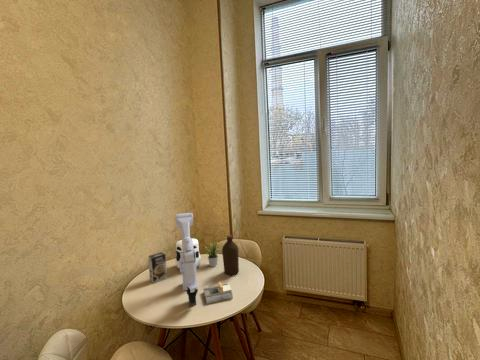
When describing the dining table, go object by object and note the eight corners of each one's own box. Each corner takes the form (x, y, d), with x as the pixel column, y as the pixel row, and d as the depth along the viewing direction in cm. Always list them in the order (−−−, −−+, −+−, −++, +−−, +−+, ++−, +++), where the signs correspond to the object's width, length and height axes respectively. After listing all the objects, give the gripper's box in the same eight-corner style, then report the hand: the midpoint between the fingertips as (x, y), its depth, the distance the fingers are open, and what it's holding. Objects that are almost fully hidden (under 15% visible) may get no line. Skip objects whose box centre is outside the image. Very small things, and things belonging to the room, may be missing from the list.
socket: (203, 292, 143) (203, 287, 143) (227, 287, 147) (227, 282, 147) (206, 303, 132) (206, 298, 132) (232, 298, 136) (232, 293, 135)
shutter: (218, 287, 142) (218, 282, 142) (229, 285, 144) (228, 280, 144) (221, 292, 137) (220, 287, 136) (231, 290, 138) (231, 285, 138)
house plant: (229, 264, 179) (227, 241, 178) (214, 271, 169) (212, 247, 168) (216, 259, 189) (214, 238, 188) (201, 265, 180) (199, 243, 178)
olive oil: (236, 277, 159) (233, 238, 157) (220, 275, 163) (218, 237, 161) (242, 270, 169) (239, 233, 167) (227, 268, 173) (225, 232, 171)
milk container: (196, 259, 191) (194, 236, 190) (205, 267, 176) (203, 242, 175) (173, 265, 182) (171, 241, 181) (180, 274, 168) (178, 248, 166)
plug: (188, 302, 134) (187, 288, 133) (195, 301, 135) (194, 286, 134) (189, 306, 131) (188, 291, 130) (196, 304, 132) (195, 290, 131)
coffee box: (153, 283, 157) (151, 258, 156) (149, 280, 162) (147, 255, 160) (167, 278, 163) (165, 254, 162) (163, 275, 168) (161, 251, 166)
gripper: (181, 269, 137) (183, 293, 138) (183, 281, 123) (185, 308, 124) (194, 267, 139) (196, 291, 140) (197, 278, 125) (199, 305, 126)
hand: (192, 298), depth 132 cm, fingers open, 7 cm apart
